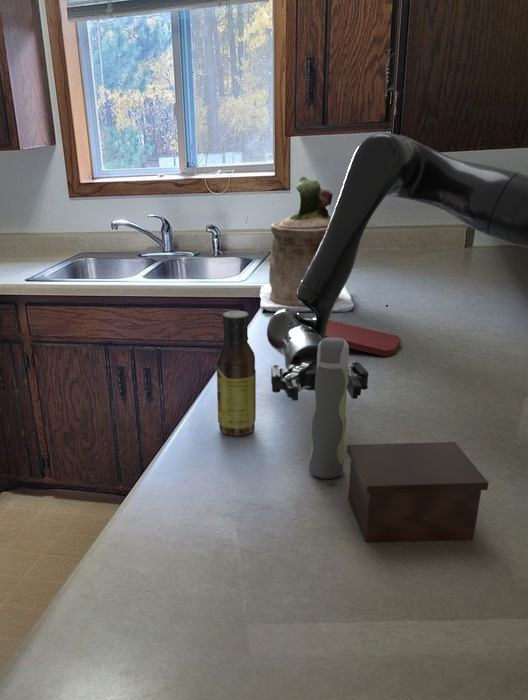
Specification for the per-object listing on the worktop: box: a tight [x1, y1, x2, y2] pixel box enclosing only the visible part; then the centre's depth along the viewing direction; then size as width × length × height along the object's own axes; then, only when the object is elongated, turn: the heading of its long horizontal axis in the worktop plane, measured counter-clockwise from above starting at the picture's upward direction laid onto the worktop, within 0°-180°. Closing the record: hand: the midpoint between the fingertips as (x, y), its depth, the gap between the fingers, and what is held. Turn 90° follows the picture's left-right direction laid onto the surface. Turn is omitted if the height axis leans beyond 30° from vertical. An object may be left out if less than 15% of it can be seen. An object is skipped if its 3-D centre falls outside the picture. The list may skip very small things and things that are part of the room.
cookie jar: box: [259, 176, 355, 313], centre depth 196 cm, size 25×25×32 cm
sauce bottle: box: [216, 310, 257, 437], centre depth 119 cm, size 7×6×20 cm
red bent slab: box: [308, 316, 402, 357], centre depth 165 cm, size 12×5×25 cm
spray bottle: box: [308, 337, 350, 480], centre depth 103 cm, size 5×5×20 cm
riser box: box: [346, 441, 489, 543], centre depth 93 cm, size 14×12×8 cm
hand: (325, 393), depth 106 cm, fingers open, 8 cm apart
